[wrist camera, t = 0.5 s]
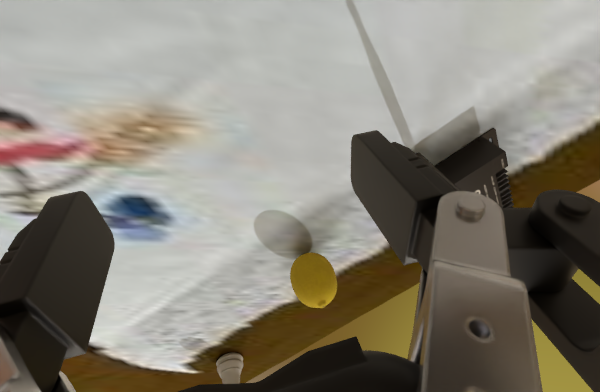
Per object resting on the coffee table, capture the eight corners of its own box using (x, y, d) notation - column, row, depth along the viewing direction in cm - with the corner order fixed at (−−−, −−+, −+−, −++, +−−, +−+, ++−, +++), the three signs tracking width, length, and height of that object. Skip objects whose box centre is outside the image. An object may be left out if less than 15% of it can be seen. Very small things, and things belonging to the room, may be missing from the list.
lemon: (279, 268, 42) (293, 321, 36) (292, 238, 40) (310, 290, 34) (315, 269, 45) (334, 320, 39) (330, 241, 42) (353, 291, 36)
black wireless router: (509, 202, 47) (630, 299, 34) (427, 252, 50) (511, 360, 36) (489, 100, 35) (668, 192, 22) (380, 173, 37) (483, 296, 24)
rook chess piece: (237, 365, 55) (242, 416, 49) (212, 365, 53) (214, 419, 47) (246, 351, 53) (253, 403, 47) (221, 351, 51) (224, 405, 45)
